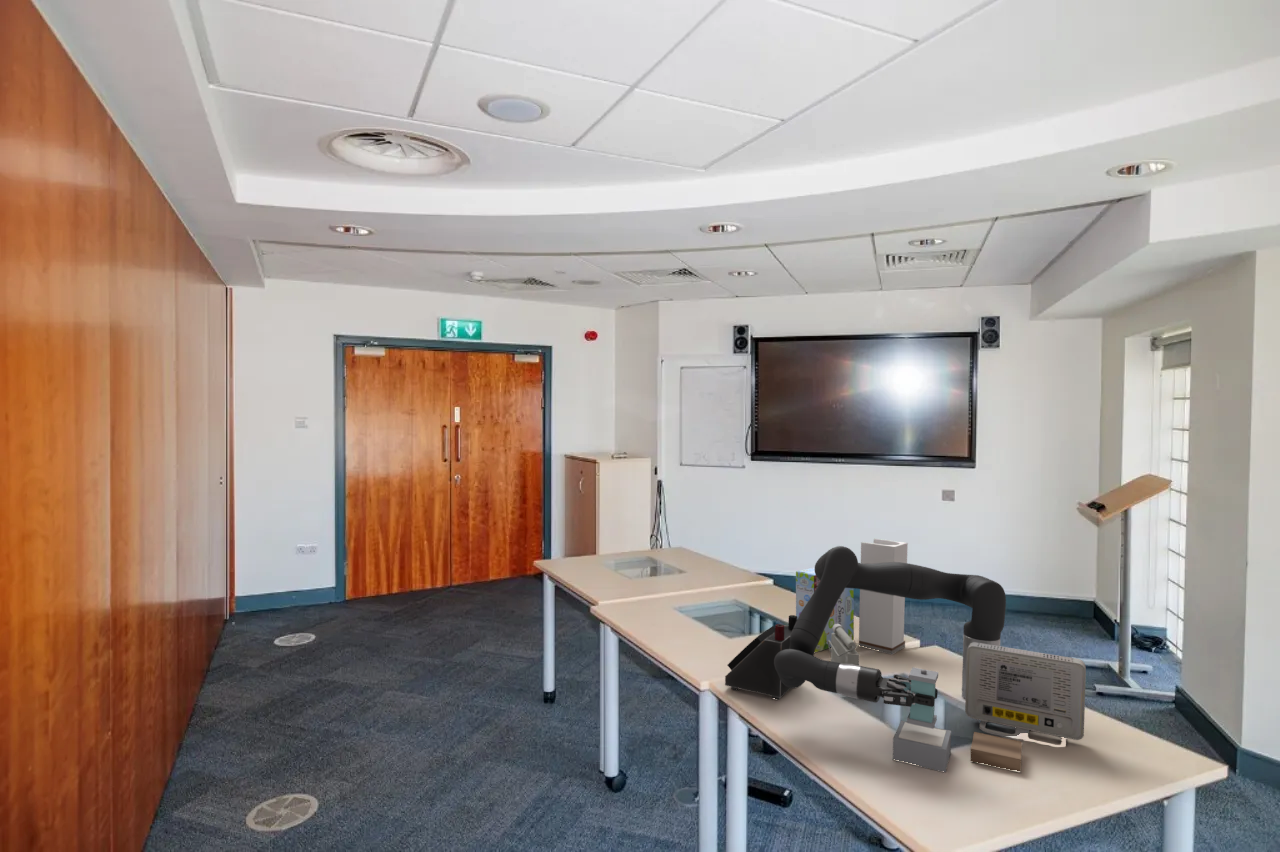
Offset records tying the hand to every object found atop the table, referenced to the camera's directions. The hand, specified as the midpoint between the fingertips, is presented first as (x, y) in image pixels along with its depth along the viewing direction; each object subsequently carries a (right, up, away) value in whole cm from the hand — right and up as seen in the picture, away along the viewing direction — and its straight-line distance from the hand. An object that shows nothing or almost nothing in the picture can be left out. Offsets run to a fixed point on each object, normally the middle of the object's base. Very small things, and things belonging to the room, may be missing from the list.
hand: (935, 697), depth 164 cm
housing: (-3, -6, +1) cm, 7 cm away
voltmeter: (-32, -13, +42) cm, 54 cm away
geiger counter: (-8, -13, +51) cm, 53 cm away
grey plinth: (-2, -14, +1) cm, 14 cm away
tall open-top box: (+14, -13, +79) cm, 82 cm away
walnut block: (+14, -14, +1) cm, 20 cm away
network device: (+27, -14, +14) cm, 34 cm away
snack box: (-4, -12, +81) cm, 82 cm away
